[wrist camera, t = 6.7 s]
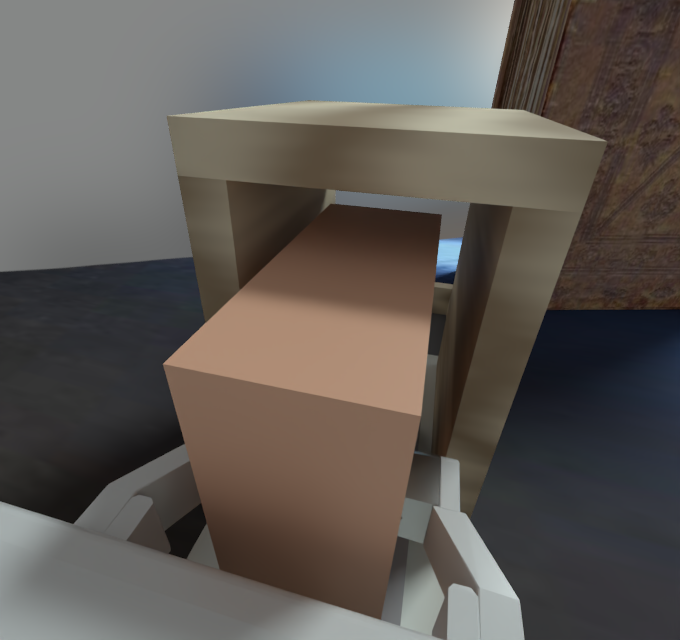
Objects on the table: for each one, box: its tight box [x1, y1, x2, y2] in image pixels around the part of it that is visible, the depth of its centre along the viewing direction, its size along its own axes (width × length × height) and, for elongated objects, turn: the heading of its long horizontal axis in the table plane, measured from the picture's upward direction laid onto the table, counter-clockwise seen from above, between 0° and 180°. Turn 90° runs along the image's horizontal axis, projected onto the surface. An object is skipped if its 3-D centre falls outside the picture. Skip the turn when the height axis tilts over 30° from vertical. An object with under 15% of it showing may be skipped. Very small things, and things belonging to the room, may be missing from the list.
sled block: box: [163, 204, 442, 626], centre depth 14 cm, size 6×12×12 cm, turn 166°
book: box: [491, 0, 680, 310], centre depth 34 cm, size 25×9×30 cm, turn 93°
